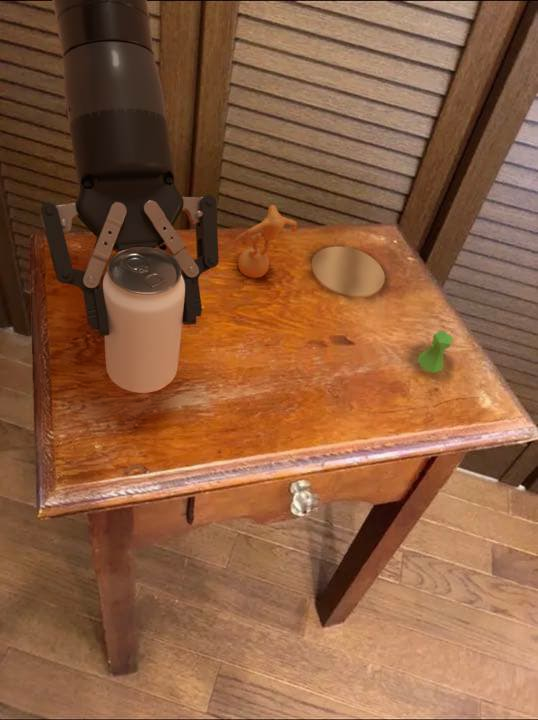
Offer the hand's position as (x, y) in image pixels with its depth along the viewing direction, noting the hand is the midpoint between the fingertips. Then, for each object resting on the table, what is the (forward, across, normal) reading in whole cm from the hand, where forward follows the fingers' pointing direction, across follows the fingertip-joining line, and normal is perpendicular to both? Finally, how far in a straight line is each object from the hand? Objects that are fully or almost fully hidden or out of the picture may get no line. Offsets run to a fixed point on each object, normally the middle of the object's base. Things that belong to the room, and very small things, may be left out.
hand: (148, 329), depth 48 cm
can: (+4, 0, +6) cm, 7 cm away
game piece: (+10, +34, +10) cm, 37 cm away
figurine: (-3, +18, +24) cm, 30 cm away
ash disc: (-2, +31, +22) cm, 38 cm away
